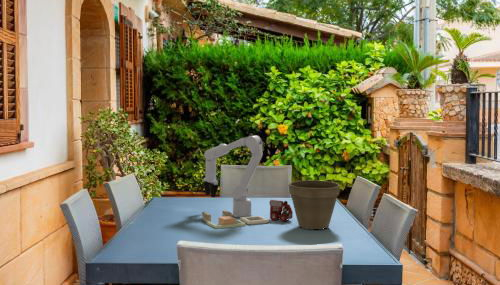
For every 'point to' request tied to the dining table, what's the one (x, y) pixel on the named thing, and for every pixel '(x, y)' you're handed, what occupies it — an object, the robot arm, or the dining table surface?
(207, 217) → the channel walls
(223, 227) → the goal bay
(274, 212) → the toy fire truck
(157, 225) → the dining table surface
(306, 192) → the plant pot
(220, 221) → the terracotta block
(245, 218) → the trap basin
